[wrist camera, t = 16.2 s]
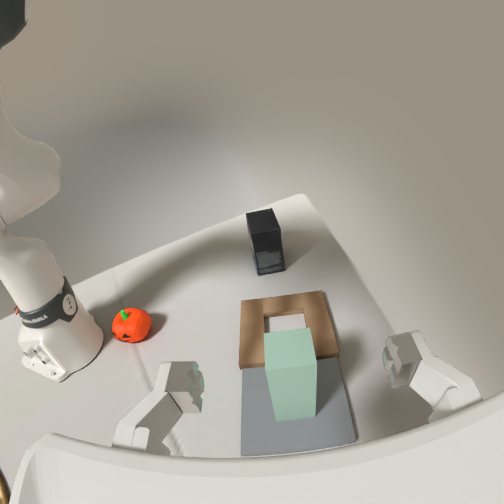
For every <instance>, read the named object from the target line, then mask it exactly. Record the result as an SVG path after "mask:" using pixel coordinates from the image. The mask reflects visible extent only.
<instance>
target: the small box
mask: <svg viewBox="0 0 504 504" xmlns="http://www.w3.org/2000/svg"><path fill="white" fill-rule="evenodd" d="M246 218H247V226H248V233H249V239H250V244H251V249H252V254H253V258H254V263H255V267H256V270H257V274H258V276H259V275H265V274H270V273H276V272H281V271H285V270H286V268H285V262H284V255H283V248H282V240H281V229H280V226H279V224H278V221H277V219H276V217H275V214H274V212H273V210H272V208H271V209H266V210H261V211H256V212H251V213H246Z"/></svg>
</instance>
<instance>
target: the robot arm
mask: <svg viewBox="0 0 504 504" xmlns="http://www.w3.org/2000/svg"><path fill="white" fill-rule="evenodd" d="M35 2H36V0H0V49H1V48H2V47H3V46H4V45H6V44H8V43H9V42H10V41H12V40H13V39H15V38H16V36H17V35H18V34H19V33H20V32H21V31H22V29H23V28H24V27H25V26H26V24H27V20H28V17H29V15H30V14H31V12H32V9H33V7H34V5H35ZM62 179H63V167H62V163H61V160H60V157H59V156H58V154H57V152H56V151H55V150H54V149H53V148H52V147H51V146H50V145H48V144H46V143H44V142H38V141H34V140H30V139H28V138H26V137H24V136H23V135H21V134H20V133H19V132H18V131H16V130H15V128H14V127H13V126H12V124H11V122H10V120H9V118H8V115H7V111H6V108H5V104H4V100H3V96H2V90H1V84H0V279H1V281H2V282H3V284H4V285H5V287H6V289H7V290H8V291H9V293H10V295H11V296H12V298H13V300H14V301H15V302H16V304H17V306H16V308H15V309H14V310H13V311H15V310H16V309H17V308H18V309H17V311H16V315H17V314H18V312H19V315H20V318H21V320H22V325H21V329H20V332H19V335H18V342H19V344H20V346H21V348H22V349H23V351H24V352H23V355H22V364H23V366H24V367H26V368H28V369H30V370H32V371H34V372H36V373H39V374H41V375H43V376H45V377H47V378H49V379H52V380H54V381H56V382H61V381H63V380H64V379H65V378H67V377H68V376H69V375H70V374H71V373H73V372H75V371H77V370H79V369H81V368H83V367H84V366H86V365H87V364H88V363H89V362H91V361H92V360H93V359H94V357H95V356H96V355H97V354H98V352H99V350H100V348H101V346H102V343H103V338H104V336H103V331H102V329H101V328H100V327H99V326H98V325H97V324H96V323H95V319H94V317H93V316H92V315H91V314H88V312H87V311H86V310H85V308H84V307H83V305H82V304H81V303H80V301H79V300H78V298H77V297H76V295H75V294H74V292H73V290H72V288H71V286H70V283H69V282H68V281H67V279H66V277H64V276H63V275H62V274H61V271H60V269H59V267H58V265H57V263H56V261H55V259H54V257H53V255H52V253H51V251H50V248H49V247H48V245H47V244H46V243H45V242H44V241H42V240H40V239H38V238H32V237H23V238H19V237H14V236H12V235H11V234H10V233H8V232H7V230H6V227H7V226H8V225H10V224H11V223H13V222H15V221H16V220H18V219H20V218H22V217H23V216H25V215H27V214H29V213H31V212H32V211H34V210H36V209H38V208H39V207H41V206H42V205H43V204H44V203H46V202H47V201H48V200H50V199H51V198H52V197H53V196H55V195H56V194H57V193H58V192H59V190H60V187H61V184H62ZM386 345H387V347H386V348H385V349H384V350H383V364H384V367H385V369H386V370H387V371H389V372H390V373H389V376H388V378H389V381H390V384H391V387H392V389H394V388H399V387H403V386H407V385H409V386H410V387H411V388H412V389H413V390H415V391H416V392H417V393H418V394H419V395H420V396H421V397H423V398H424V399H425V400H426V401H427V402H428V403H429V404H431V405H432V406H433V407H434V408H435V409H434V410H433V412H432V413H431V415H430V416H429V418H428V421H429V424H426V425H423V426H420V427H417V428H414V429H411V430H408V431H404V432H401V433H398V434H394V435H391V436H387V437H383V438H380V439H376V440H372V441H368V442H363V443H359V444H354V445H349V446H344V447H339V448H334V449H328V450H322V451H315V452H308V453H300V454H291V455H281V456H268V457H250V458H201V457H183V456H171V455H170V452H171V451H170V450H169V448H168V447H166V446H165V445H164V444H163V443H162V441H163V439H164V438H165V437H166V435H167V434H168V433H169V432H170V430H171V429H172V428H173V426H174V425H175V424H176V422H177V421H178V420H179V419H180V417H181V416H182V415H183V413H201V408H202V398H201V397H200V395H201V394H202V393H203V392H204V379H203V375H202V373H201V372H200V371H199V370H198V364H197V363H196V361H192V362H173V361H172V362H162V363H161V364H160V367H159V371H158V375H157V379H156V383H155V387H154V391H153V392H150V393H149V394H148V395H147V396H146V397H145V398H144V399H142V400H141V401H140V402H139V403H138V404H137V405H136V406H135V407H134V408H133V409H132V410H131V411H130V412H129V413H128V414H127V415H126V416H125V417H124V418H123V419H122V420H121V421H120V422H119V423H118V425H117V428H116V432H115V436H114V440H113V444H112V447H108V446H103V445H99V444H94V443H90V442H86V441H82V440H78V439H74V438H70V437H67V436H63V435H60V434H57V433H48V434H46V435H44V436H43V437H41V438H40V439H39V440H37V441H36V442H35V443H34V444H32V445H31V446H30V447H29V448H28V449H27V451H26V453H25V455H24V457H23V459H22V461H21V464H20V467H19V469H18V472H17V475H16V479H15V482H14V486H13V489H12V493H11V497H10V502H9V504H504V390H503V391H501V392H499V393H497V394H495V395H493V396H492V397H489V398H487V399H485V400H483V399H482V397H481V395H480V393H479V391H478V388H477V386H476V384H475V382H474V380H473V379H472V378H470V377H469V376H467V375H466V374H464V373H462V372H460V371H459V370H458V369H456V368H455V367H453V366H451V365H450V364H448V363H447V362H445V361H443V360H442V359H440V358H439V357H437V356H433V354H432V353H431V351H430V349H429V347H428V345H427V343H426V341H425V339H424V337H423V335H422V334H421V332H420V331H419V330H416V331H412V332H407V333H403V334H399V335H394V336H390V337H388V338H387V339H386Z"/></svg>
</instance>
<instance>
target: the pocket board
mask: <svg viewBox="0 0 504 504" xmlns="http://www.w3.org/2000/svg"><path fill="white" fill-rule="evenodd" d="M298 313H304V317H305V322H306V327H307V328H310V331H311V336H312V341H313V346H314V351H315V356H316V360H320V359H327V358H333V357H339V349H338V345H337V341H336V338H335V334H334V331H333V327H332V324H331V320H330V317H329V313H328V310H327V307H326V303H325V300H324V297H323V293H322V290H321V291H314V292H307V293H300V294H293V295H285V296H277V297H269V298H261V299H253V300H244V301H241V322H240V348H239V367H240V369H245V368H256V367H265V353H264V333H265V322H264V318H267V317H275V316H283V315H291V314H298Z"/></svg>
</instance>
